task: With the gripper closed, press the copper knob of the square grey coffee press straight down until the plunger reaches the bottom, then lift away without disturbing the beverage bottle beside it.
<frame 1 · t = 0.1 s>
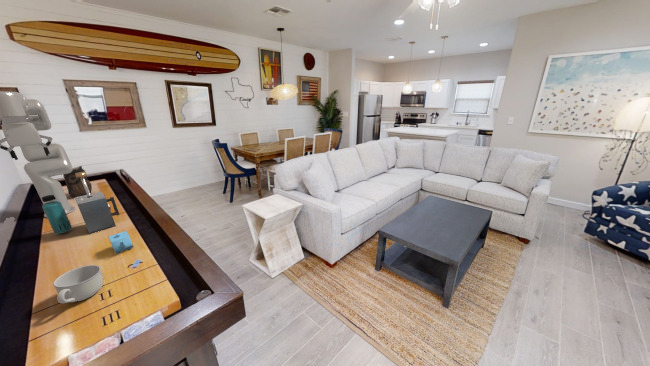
hand: (32, 157, 112), 37 cm above the table, tool pointing down, fingers open, 9 cm apart
beverage bottle: (64, 233, 117), on the table
printed blue cube: (124, 250, 102), on the table
teacup: (82, 298, 77), on the table
plunger: (87, 190, 115), point 20 cm above the table, slide at 0.0 cm
coffee press: (101, 226, 122), on the table
owl: (80, 195, 167), on the table
cocoa: (105, 213, 137), on the table
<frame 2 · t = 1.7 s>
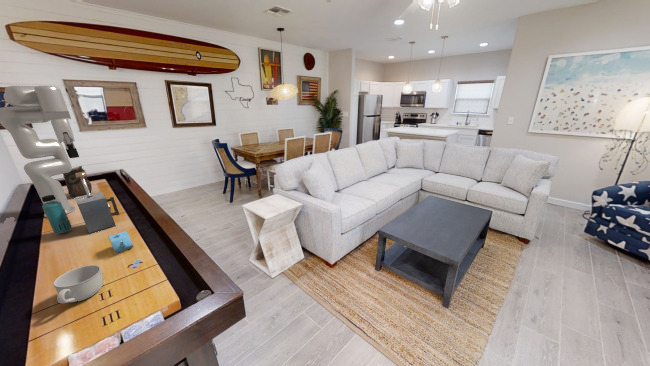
hand: (74, 156, 109), 37 cm above the table, tool pointing down, fingers open, 3 cm apart
nothing on the table moved.
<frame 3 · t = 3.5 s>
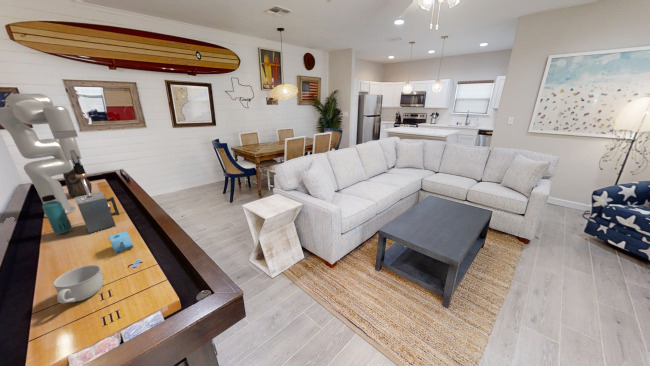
hand: (80, 173, 112), 29 cm above the table, tool pointing down, fingers closed
plunger: (87, 190, 115), point 20 cm above the table, slide at 0.4 cm, touching gripper
everything else where it was.
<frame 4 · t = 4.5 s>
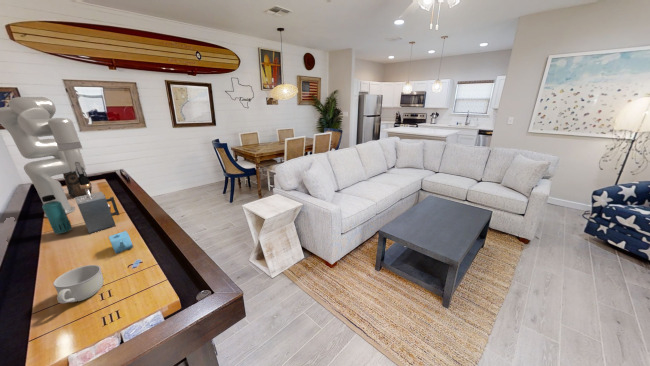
hand: (84, 184, 114), 24 cm above the table, tool pointing down, fingers closed
plunger: (91, 200, 117), point 15 cm above the table, slide at 5.7 cm, touching gripper
everything else where it was.
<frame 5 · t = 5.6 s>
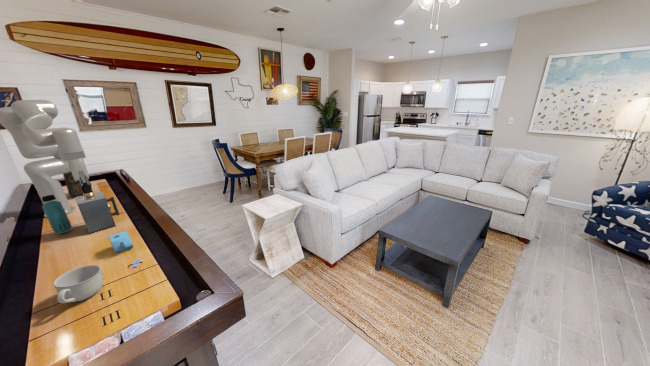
hand: (88, 192, 115), 19 cm above the table, tool pointing down, fingers closed
plunger: (94, 208, 118), point 10 cm above the table, slide at 10.1 cm, touching gripper
everything else where it was.
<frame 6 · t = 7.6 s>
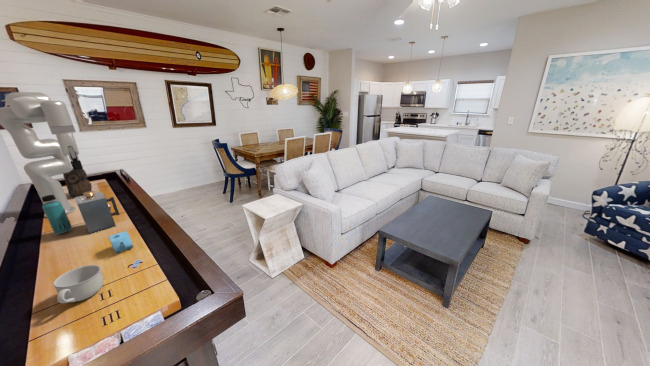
hand: (78, 169, 112), 31 cm above the table, tool pointing down, fingers closed
plunger: (94, 208, 118), point 10 cm above the table, slide at 10.1 cm
everything else where it was.
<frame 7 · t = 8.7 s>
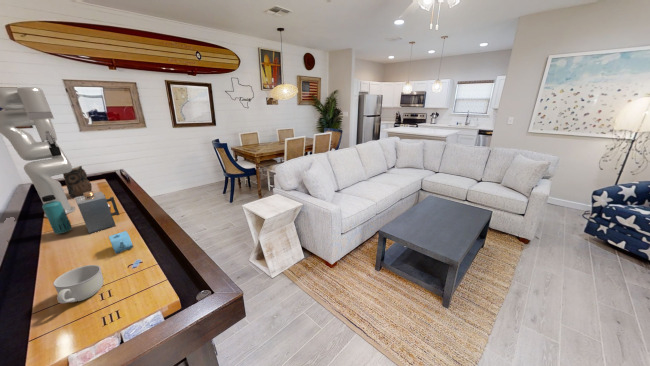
hand: (57, 155, 114), 37 cm above the table, tool pointing down, fingers closed
nothing on the table moved.
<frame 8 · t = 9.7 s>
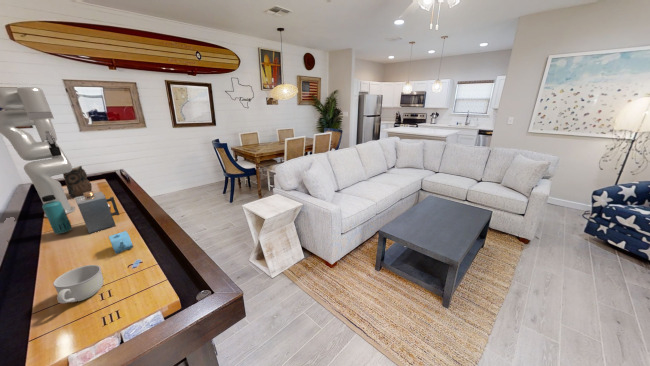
hand: (57, 155, 114), 37 cm above the table, tool pointing down, fingers closed
nothing on the table moved.
at the end: plunger slide at 10.1 cm; beverage bottle tilted 0°; beverage bottle moved 0.2 cm from its start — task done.
